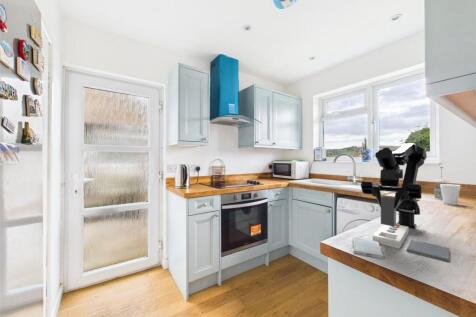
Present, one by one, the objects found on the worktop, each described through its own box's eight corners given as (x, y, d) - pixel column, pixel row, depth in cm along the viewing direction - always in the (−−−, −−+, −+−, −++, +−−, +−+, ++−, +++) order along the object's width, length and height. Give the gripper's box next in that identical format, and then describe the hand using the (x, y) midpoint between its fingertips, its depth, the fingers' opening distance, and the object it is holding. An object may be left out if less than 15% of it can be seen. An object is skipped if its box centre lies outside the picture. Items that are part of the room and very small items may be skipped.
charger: (383, 221, 79) (383, 196, 79) (396, 224, 76) (396, 197, 76) (380, 223, 76) (380, 197, 76) (393, 226, 73) (393, 199, 73)
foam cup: (462, 206, 131) (462, 186, 131) (443, 204, 136) (443, 185, 136) (457, 203, 139) (456, 184, 139) (438, 201, 144) (438, 183, 144)
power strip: (385, 227, 91) (385, 221, 91) (408, 232, 85) (408, 225, 86) (372, 241, 76) (372, 233, 76) (399, 248, 70) (399, 239, 70)
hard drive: (352, 237, 78) (353, 249, 67) (378, 241, 74) (383, 255, 64) (352, 241, 78) (353, 254, 67) (378, 245, 74) (383, 260, 64)
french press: (437, 200, 150) (437, 166, 150) (428, 197, 161) (428, 166, 161) (454, 201, 147) (454, 166, 147) (444, 198, 158) (443, 166, 158)
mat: (411, 241, 76) (411, 239, 76) (449, 250, 69) (449, 248, 69) (406, 251, 69) (406, 248, 69) (449, 261, 61) (449, 259, 61)
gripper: (361, 161, 85) (355, 191, 77) (421, 162, 73) (421, 197, 64) (365, 179, 91) (360, 208, 83) (420, 181, 79) (421, 216, 70)
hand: (387, 207), depth 75 cm, fingers closed on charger, 4 cm apart
